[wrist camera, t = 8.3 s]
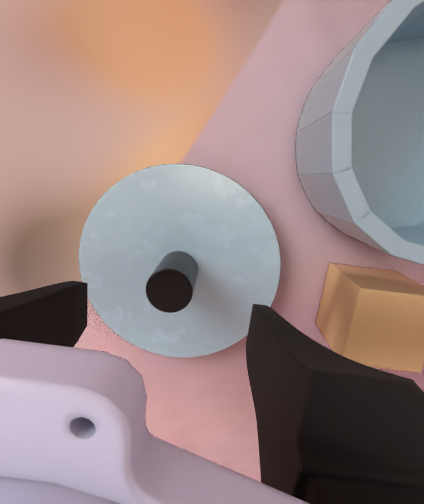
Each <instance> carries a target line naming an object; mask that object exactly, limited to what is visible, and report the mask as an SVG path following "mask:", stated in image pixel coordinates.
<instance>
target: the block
mask: <svg viewBox="0 0 424 504" xmlns="http://www.w3.org/2000/svg"><path fill="white" fill-rule="evenodd" d="M315 324H316V325H317V327H318V328H319V330H320V332H321V333H322V335H323V336H324V338H325V339H326V341H327V343H328V344H329V346H330V347H331V349H332V350H333V352H336V353H338V354H340V355H342V356H344V357H346V358H348V359H351V360H353V361H356V362H358V363H361V364H363V365H366V366H369V367H376V368H384V369H392V370H400V371H408V372H416V373H421V371H422V368H423V365H424V286H423V285H421V284H419V283H417V282H415V281H413V280H412V279H410V278H408V277H406V276H404V275H402V274H401V273H399V272H397V271H391V270H383V269H375V268H367V267H359V266H351V265H343V264H335V263H329V267H328V272H327V276H326V280H325V284H324V289H323V293H322V297H321V302H320V306H319V310H318V314H317V319H316V323H315Z"/></svg>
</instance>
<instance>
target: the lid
mask: <svg viewBox="0 0 424 504" xmlns="http://www.w3.org/2000/svg"><path fill="white" fill-rule="evenodd" d="M79 248H80V249H79V268H80V273H81V279H82V282H85V283H88V288H87V296H88V298H89V301H90V303H91V304H92V306H93V308H94V309H95V311H96V312H97V314H98V315H99V316H100V318H101V319H102V320H103V321H104V323H105V324H106V325H107V326H108V327H110V328H111V329H112V330H113V331H114V332H115V333H116V334H118V335H119V336H120V337H121V338H123V339H124V340H126V341H128V342H129V343H131V344H132V345H134V346H136V347H139V348H141V349H143V350H145V351H148V352H151V353H155V354H158V355H163V356H168V357H179V358H184V357H198V356H205V355H208V354H212V353H216V352H218V351H221V350H223V349H226V348H228V347H230V346H232V345H233V344H235V343H237V342H239V341H240V340H241V339H243V338H244V337H246V336H247V335H248V330H249V324H250V318H251V312H252V306H253V304H260V305H267V306H269V307H271V304H272V302H273V300H274V298H275V295H276V292H277V288H278V285H279V279H280V272H281V257H280V249H279V244H278V240H277V236H276V233H275V231H274V228H273V226H272V224H271V221H270V219H269V218H268V216H267V214H266V213H265V211H264V209H263V208H262V207H261V206H260V204H259V203H258V202H257V201H256V199H255V198H254V197H253V196H252V195H251V194H250V193H249V192H248V191H247V190H246V189H244V188H243V187H242V186H240V185H239V184H238V183H236V182H235V181H233V180H232V179H230V178H228V177H226V176H224V175H222V174H221V173H218V172H216V171H213V170H210V169H207V168H204V167H199V166H195V165H188V164H163V165H158V166H153V167H148V168H145V169H143V170H140V171H137V172H134V173H133V174H131V175H129V176H127V177H125V178H123V179H122V180H120V181H119V182H117V183H116V184H115V185H113V186H112V187H111V188H110V189H109V190H108V191H107V192H106V193H105V194H104V195H103V196H102V197H101V198H100V199H99V201H98V202H97V203H96V204H95V206H94V207H93V209H92V211H91V213H90V214H89V216H88V218H87V221H86V223H85V226H84V228H83V232H82V236H81V240H80V247H79Z"/></svg>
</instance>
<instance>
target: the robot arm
mask: <svg viewBox="0 0 424 504" xmlns="http://www.w3.org/2000/svg"><path fill="white" fill-rule="evenodd" d="M87 288H88V283H85V282H77V281H68V282H62V283H58V284H53V285H49V286H45V287H41V288H38V289H34V290H30V291H25V292H21V293H17V294H12V295H8V296H3V297H0V504H424V392H423V391H422V390H421V389H420V387H419V386H418V385H417V384H416V383H415V382H414V381H413V380H411V379H408V378H405V377H401V376H398V375H394V374H391V373H387V372H384V371H380V370H377V369H374V368H372V367H369V366H366V365H363V364H361V363H358V362H356V361H353V360H351V359H348V358H346V357H344V356H342V355H340V354H338V353H336V352H333V351H331V350H330V349H328V348H326V347H324V346H322V345H321V344H319V343H317V342H315V341H314V340H312V339H311V338H309V337H307V336H306V335H305V334H303V333H302V332H300V331H299V330H298V329H296V328H295V327H294V326H292V325H291V324H290V323H289V322H287V321H286V320H285V319H284V318H282V317H281V316H280V315H279V314H278V313H277V312H275V311H274V310H273V309H272V308H270V307H269V306H267V305H260V304H253V306H252V312H251V318H250V324H249V330H248V336H247V342H246V360H247V369H248V375H249V380H250V386H251V391H252V396H253V401H254V407H255V412H256V419H257V429H258V441H259V455H260V470H261V482H258V481H256V480H254V479H251V478H249V477H247V476H245V475H242V474H240V473H238V472H235V471H233V470H231V469H228V468H226V467H224V466H221V465H219V464H217V463H215V462H212V461H210V460H208V459H205V458H203V457H201V456H198V455H196V454H194V453H191V452H189V451H187V450H185V449H182V448H180V447H178V446H175V445H173V444H171V443H168V442H166V441H164V440H162V439H159V438H157V437H155V436H153V435H152V434H151V433H150V432H149V431H148V429H147V427H146V420H145V413H146V400H147V395H146V390H145V386H144V382H143V378H142V375H141V374H140V373H139V372H138V371H137V370H136V369H135V368H134V367H133V366H132V365H131V364H130V363H129V362H128V361H127V360H126V359H123V358H121V357H118V356H115V355H112V354H110V353H107V352H104V351H97V350H89V349H81V348H73V347H74V345H75V344H76V343H77V341H78V340H79V338H80V336H81V335H82V333H83V331H84V330H85V328H86V326H87Z"/></svg>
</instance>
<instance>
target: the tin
mask: <svg viewBox="0 0 424 504" xmlns="http://www.w3.org/2000/svg"><path fill="white" fill-rule="evenodd" d="M296 135H297V136H296V164H297V170H298V175H299V178H300V181H301V184H302V187H303V189H304V192H305V193H306V195H307V197H308V199H309V201H310V202H311V204H312V205H313V207H314V209H315V210H316V211H317V212H318V213H320V214H321V215H322V216H323V217H324V218H325V219H326V220H327V221H328V222H330V223H331V224H332V225H334V226H335V227H336V228H337V229H338V230H340V231H341V232H343V233H345V234H347V235H349V236H351V237H353V238H355V239H357V240H360V241H362V242H364V243H366V244H368V245H370V246H372V247H375V248H377V249H379V250H381V251H383V252H385V253H387V254H389V255H392V256H394V257H397V258H401V259H404V260H408V261H411V262H415V263H418V264H422V265H424V0H390V1H389V2H388V3H387V4H386V5H385V6H384V7H383V8H382V9H381V10H380V11H379V12H378V13H377V14H376V15H375V16H374V18H373V19H372V20H371V21H370V22H369V23H368V24H367V25H366V26H365V27H364V28H363V29H362V30H361V31H360V32H359V33H358V34H357V35H356V36H355V37H354V38H353V39H352V40H351V41H350V42H349V43H348V45H347V46H346V47H345V48H344V49H343V50H342V51H341V52H340V53H339V54H338V56H337V57H336V58H335V59H334V61H333V62H332V63H331V64H330V66H329V67H328V68H327V69H326V70H325V71H324V73H323V74H322V75H321V77H320V78H319V80H318V81H317V82H316V83H315V85H314V86H313V87H312V89H311V91H310V94H309V96H308V98H307V100H306V103H305V105H304V108H303V110H302V113H301V117H300V120H299V124H298V129H297V133H296Z"/></svg>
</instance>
